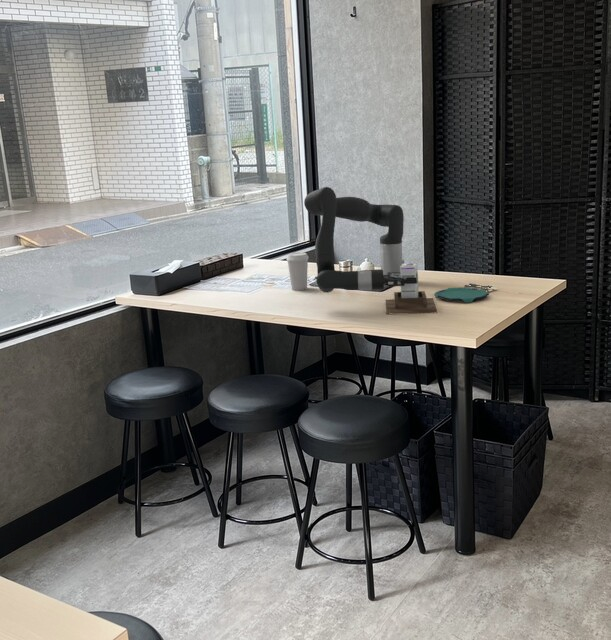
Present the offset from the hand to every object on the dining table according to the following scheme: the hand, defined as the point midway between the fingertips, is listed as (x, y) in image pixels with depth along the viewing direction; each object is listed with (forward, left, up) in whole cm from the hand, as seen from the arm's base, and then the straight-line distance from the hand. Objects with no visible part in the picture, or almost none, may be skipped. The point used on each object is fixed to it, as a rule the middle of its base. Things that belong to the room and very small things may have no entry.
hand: (415, 278), depth 284 cm
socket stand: (+2, -1, -11) cm, 11 cm away
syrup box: (+2, -1, -9) cm, 10 cm away
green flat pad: (-27, -2, -12) cm, 30 cm away
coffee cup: (+16, -60, -11) cm, 63 cm away
